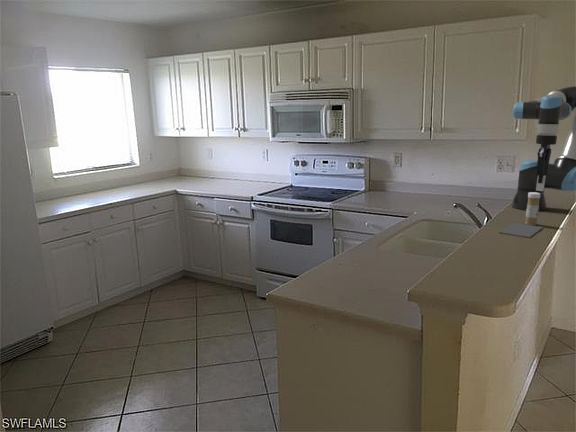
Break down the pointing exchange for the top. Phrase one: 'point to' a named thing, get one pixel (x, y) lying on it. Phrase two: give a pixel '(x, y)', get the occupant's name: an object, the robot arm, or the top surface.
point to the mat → (521, 230)
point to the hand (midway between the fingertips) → (539, 190)
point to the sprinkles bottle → (532, 208)
